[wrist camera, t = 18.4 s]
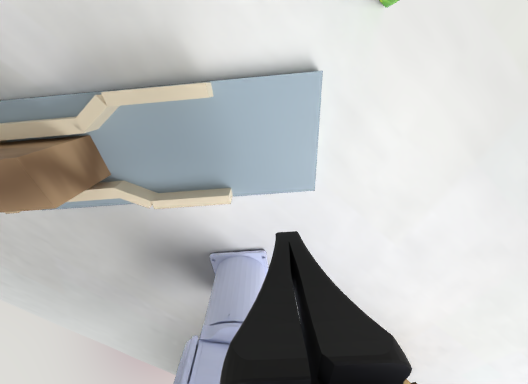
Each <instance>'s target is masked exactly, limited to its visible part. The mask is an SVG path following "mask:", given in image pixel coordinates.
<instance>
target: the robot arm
mask: <svg viewBox="0 0 528 384" xmlns="http://www.w3.org/2000/svg"><path fill="white" fill-rule="evenodd" d="M210 261H211V264H212V267H213V270H214V273H215V279H214V284H213V288H212V292H211V296H210V300H209V304H208V308H207V313H206V317H205V321H204V325H203V327H202V331H201V334H200V338H199V340H198V336H193V337H192V339H190V340H188V341H187V342H186V344H185V347H184V350H183V354H182V357H181V360H180V363H179V367H178V370H177V374H176V377H175V381H174V384H403V382H404V381H405V380H406V379H407V378H408V376H409V375H410V373H411V370H412V368H411V365H410V363H409V361H408V359H407V358H406V356H405V354H404V352H403V351H402V349H401V348H400V346H399V345H398V343H397V342H396V340H395V339H394V337H393V336H392V335H391V334H390V333H388V332H387V331H386V330H385V329H383V328H382V327H381V326H380V325H378V324H377V323H376V322H375V321H373V320H372V319H371V318H370V317H369V316H368V315H366V314H365V313H364V312H363V311H362V310H361V309H360V308H358V307H357V306H356V305H355V304H354V303H353V302H352V301H351V300H350V299H349V298H348V297H347V296H346V295H345V294H344V293H343V292H342V291H341V290H340V289H339V288H338V287H337V286H336V285H335V284H334V283H333V282H332V280H331V279H330V278H329V277H328V276H327V275H326V274H325V272H324V271H323V270H322V269H321V267H320V266H319V265H318V263H317V262H316V261H315V259H314V258H313V257H312V255H311V254H310V252H309V251H308V249H307V248H306V246H305V244H304V243H303V241H302V239H301V237H300V235H299V233H298V232H297V231H295V232H280V233H276V241H275V247H274V252H273V256H272V260H271V263H270V266H269V269H268V264H267V254H266V251H264V250H259V251H243V252H227V253H212V254H210ZM293 288H294V289H293ZM294 293H295V294H294ZM295 297H296V299H295ZM296 302H297V305H296ZM297 306H298V310H297ZM298 311H299V315H298ZM299 318H300V320H299Z"/></svg>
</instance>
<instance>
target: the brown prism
mask: <svg viewBox="0 0 528 384" xmlns="http://www.w3.org/2000/svg"><path fill="white" fill-rule="evenodd" d="M110 175H111V173H110V171H109V170H108V168H107V166H106V164H105V162H104V160H103V158H102V156H101V155H100V153H99V151H98V149H97V147H96V145H95V143H94V142H93V140H92V138H91V136H90V135H86V136H74V137H62V138H50V139H38V140H26V141H14V142H5V143H1V144H0V212H14V211H28V210H42V209H56V208H57V207H59V206H61V205H62V204H64V203H65V202H67V201H69V200H70V199H72V198H74V197H75V196H77V195H79V194H80V193H82V192H84V191H85V190H87V189H88V188H90V187H92V186H93V185H95V184H97V183H98V182H100V181H102V180H103V179H105V178H107V177H108V176H110Z"/></svg>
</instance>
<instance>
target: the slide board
mask: <svg viewBox="0 0 528 384" xmlns="http://www.w3.org/2000/svg"><path fill="white" fill-rule="evenodd" d="M322 73H323V71H315V72H304V73H293V74H282V75H271V76H261V77H250V78H239V79H228V80H218V81H207V82H196V83H185V84H174V85H164V86H153V87H142V88H131V89H121V90H110V91H99V92H88V93H78V94H67V95H56V96H45V97H34V98H24V99H13V100H2V101H0V144H1V143H5V142H14V141H26V140H38V139H50V138H62V137H74V136H86V135H90V136H91V138H92V140H93V142H94V143H95V145H96V147H97V149H98V151H99V153H100V155H101V156H102V158H103V160H104V162H105V164H106V166H107V168H108V170H109V171H110V173H111V175H110V176H108V177H107V178H105V179H103V180H102V181H100V182H98V183H97V184H95V185H93V186H92V187H90V188H88V189H87V190H85V191H84V192H82V193H80V194H79V195H77V196H75V197H74V198H72V199H70V200H69V201H67V202H65V203H64V204H62V205H61V206H59V207H57V208H56V209H67V208H81V207H94V206H108V205H122V204H138V205H141V206H143V207H146V208H150V207H151V206H152V205H153V207H154V209H165V208H179V207H193V206H207V205H221V204H231V200H232V196H246V195H260V194H274V193H288V192H301V191H315V179H316V164H317V149H318V134H319V119H320V103H321V88H322ZM42 210H53V209H42ZM19 212H21V211H14V212H5V213H6V214H10V213H19Z"/></svg>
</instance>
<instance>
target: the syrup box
mask: <svg viewBox="0 0 528 384" xmlns="http://www.w3.org/2000/svg"><path fill="white" fill-rule="evenodd" d="M379 1H380V2H381V3H382V4H383V5H384V6H385V7H389V6H391V5H393V4H394V3H396V2H397V1H399V0H379Z"/></svg>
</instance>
